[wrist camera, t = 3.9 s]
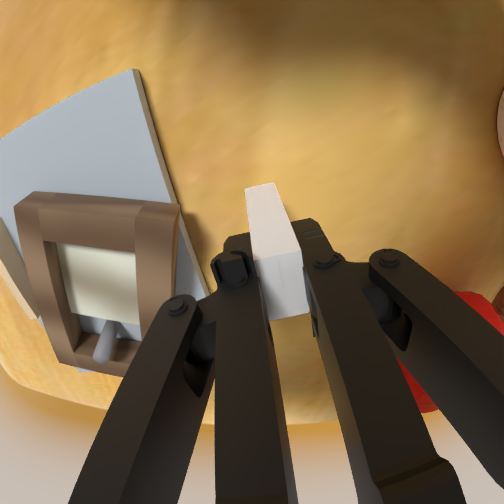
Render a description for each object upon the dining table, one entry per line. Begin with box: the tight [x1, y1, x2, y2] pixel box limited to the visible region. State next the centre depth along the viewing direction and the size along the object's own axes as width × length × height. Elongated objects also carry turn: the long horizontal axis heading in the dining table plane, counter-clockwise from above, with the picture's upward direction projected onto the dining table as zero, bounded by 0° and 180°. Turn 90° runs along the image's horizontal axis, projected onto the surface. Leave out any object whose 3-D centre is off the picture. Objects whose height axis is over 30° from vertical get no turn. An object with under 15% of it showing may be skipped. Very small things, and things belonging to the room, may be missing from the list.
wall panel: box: [0, 69, 210, 372], centre depth 17 cm, size 22×16×5 cm
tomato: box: [396, 292, 504, 413], centre depth 22 cm, size 14×13×9 cm
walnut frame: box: [13, 191, 181, 377], centre depth 18 cm, size 14×10×2 cm
